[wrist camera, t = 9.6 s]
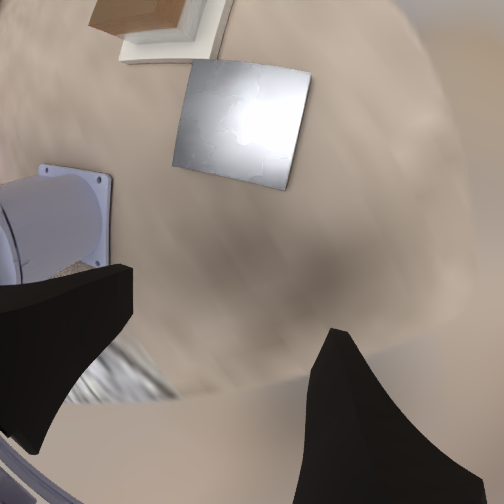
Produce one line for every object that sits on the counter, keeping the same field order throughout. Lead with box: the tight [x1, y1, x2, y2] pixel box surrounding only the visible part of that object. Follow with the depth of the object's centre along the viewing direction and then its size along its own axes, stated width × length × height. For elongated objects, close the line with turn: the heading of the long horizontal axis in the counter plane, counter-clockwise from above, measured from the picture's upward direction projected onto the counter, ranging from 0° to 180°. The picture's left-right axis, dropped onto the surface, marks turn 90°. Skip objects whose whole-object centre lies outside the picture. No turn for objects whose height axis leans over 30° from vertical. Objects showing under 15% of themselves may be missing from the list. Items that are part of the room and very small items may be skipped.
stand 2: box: [172, 58, 311, 191], centre depth 15 cm, size 7×7×1 cm
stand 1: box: [118, 0, 233, 64], centre depth 13 cm, size 7×7×1 cm
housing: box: [88, 0, 207, 45], centre depth 10 cm, size 4×4×5 cm
